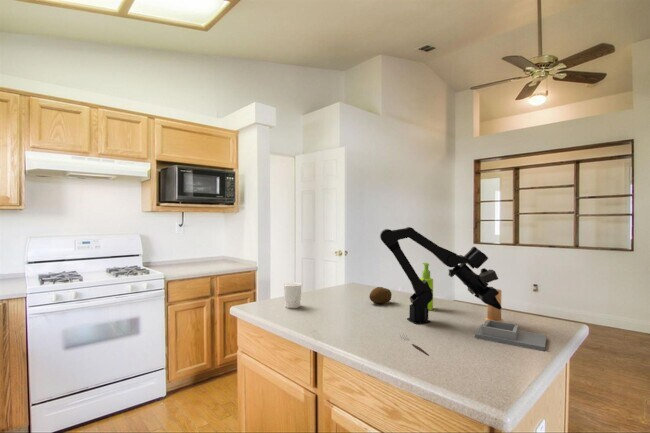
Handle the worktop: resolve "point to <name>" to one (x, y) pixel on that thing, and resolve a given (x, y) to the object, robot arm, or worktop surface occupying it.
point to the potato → (380, 295)
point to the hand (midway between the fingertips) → (498, 306)
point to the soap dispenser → (430, 282)
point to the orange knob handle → (494, 310)
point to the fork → (413, 344)
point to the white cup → (292, 295)
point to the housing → (510, 335)
